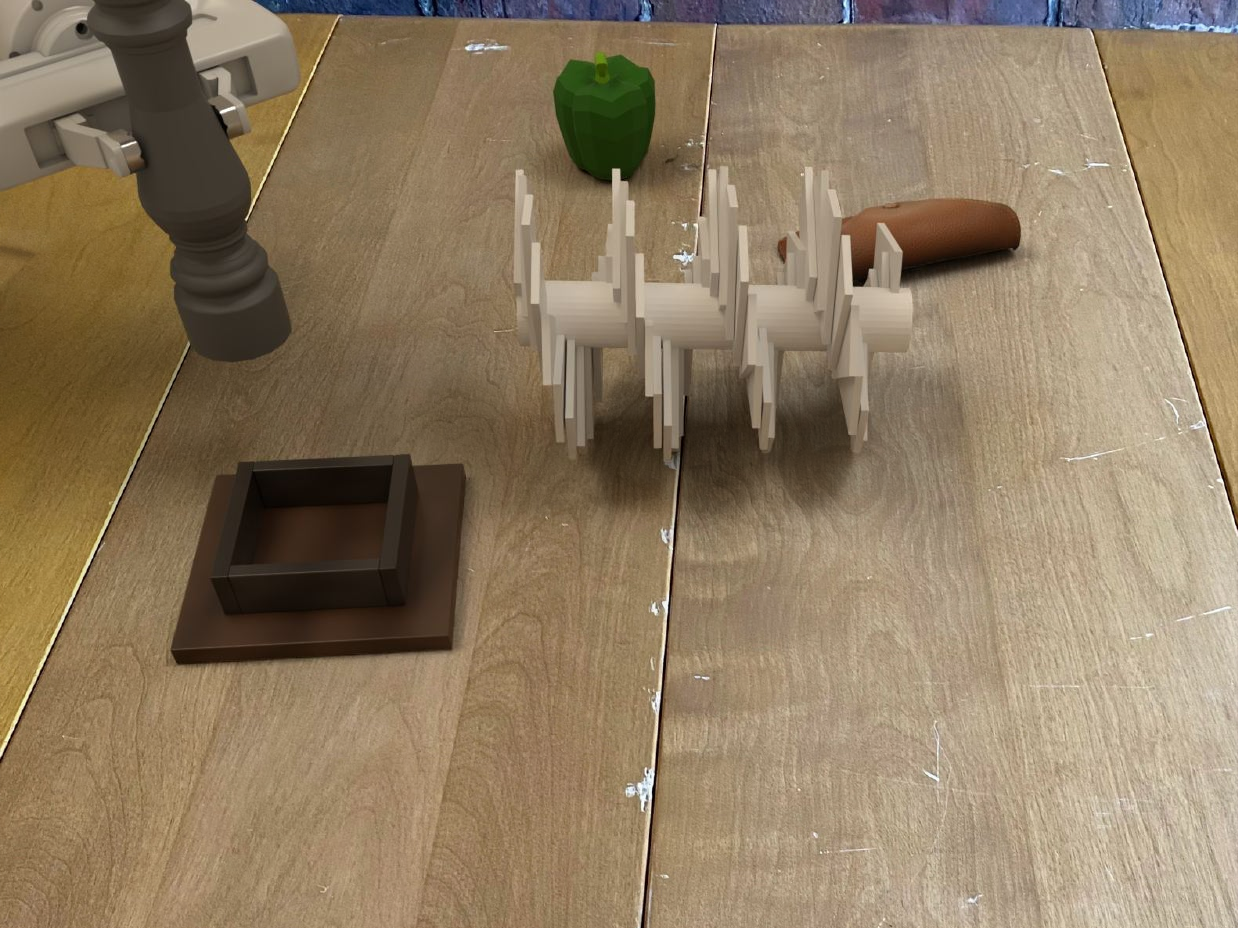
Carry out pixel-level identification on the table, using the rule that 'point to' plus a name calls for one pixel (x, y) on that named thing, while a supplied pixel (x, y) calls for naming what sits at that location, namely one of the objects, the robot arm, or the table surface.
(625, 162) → the bell pepper
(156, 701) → the table surface
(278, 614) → the socket pad
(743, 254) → the spiral staircase
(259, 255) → the grey baluster post
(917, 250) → the sunglasses case
